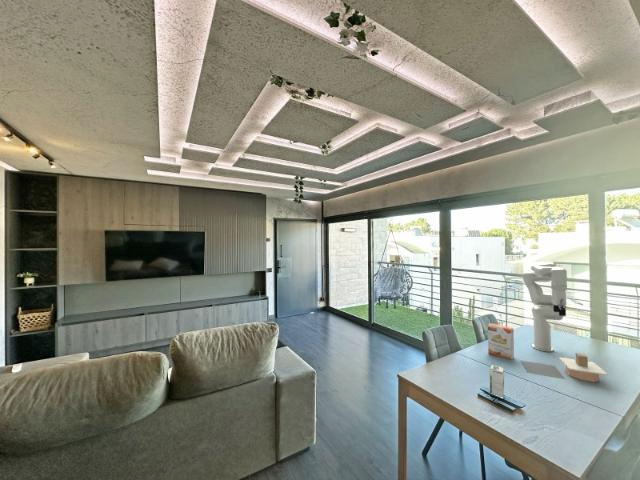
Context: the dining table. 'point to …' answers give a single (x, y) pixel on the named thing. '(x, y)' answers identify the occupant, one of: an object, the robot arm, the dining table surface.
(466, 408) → the dining table surface
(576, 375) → the bowl
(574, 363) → the lid
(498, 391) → the syrup box
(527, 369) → the mat
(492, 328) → the cracker box
